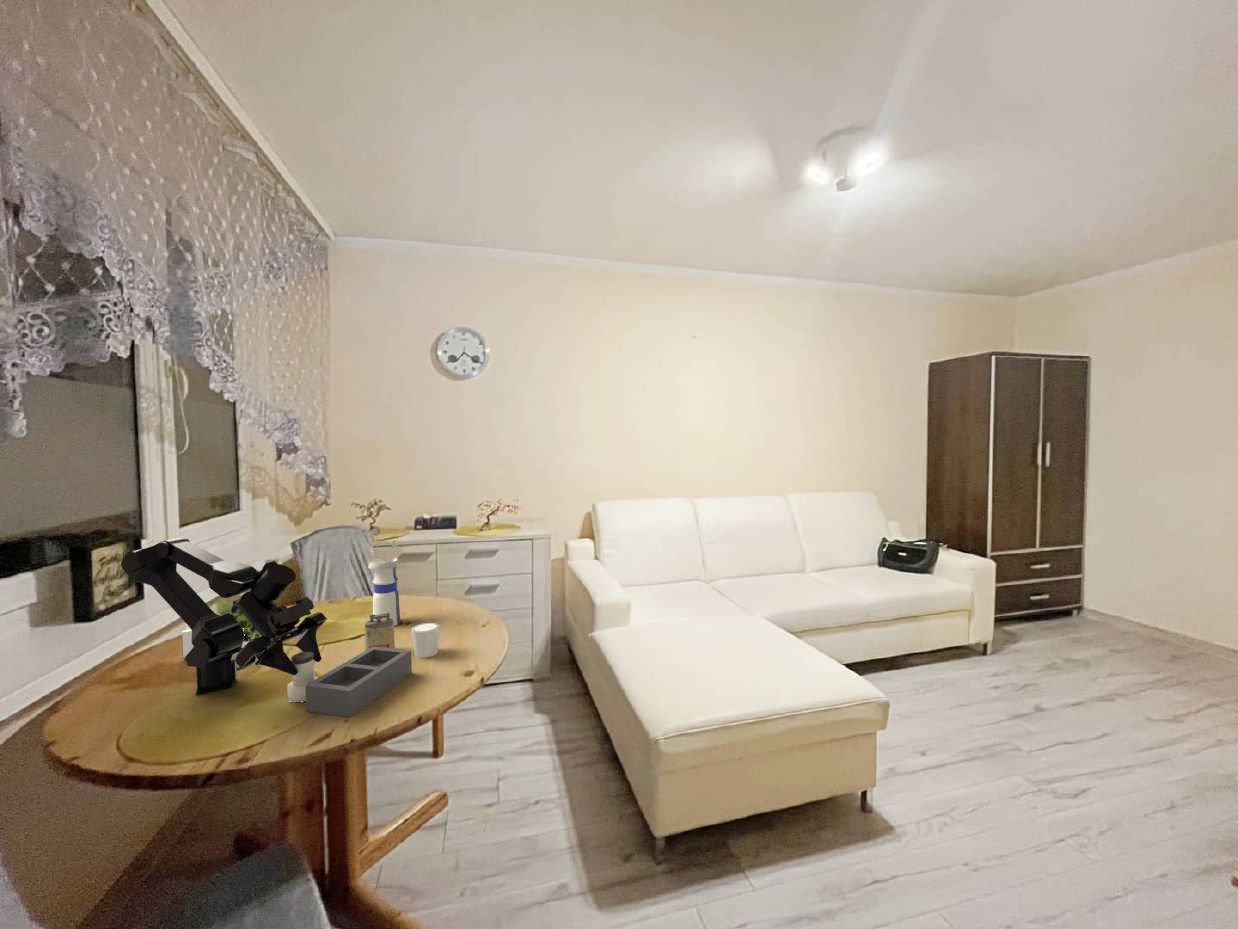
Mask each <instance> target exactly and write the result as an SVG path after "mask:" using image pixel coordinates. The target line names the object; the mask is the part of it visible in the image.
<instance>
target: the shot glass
mask: <svg viewBox="0 0 1238 929" xmlns="http://www.w3.org/2000/svg"><path fill="white" fill-rule="evenodd" d="M439 636H440V624H439V623H436V622H423V623H419V624H416V625H415V626H412V627H411V638H412V645H413V653H414V657H415V658H417V657H418V659H426V658H427V657H428V658H430V657H431V658H432V657H433V656H435V655H437V654H438V651H439V638H440V637H439Z"/></svg>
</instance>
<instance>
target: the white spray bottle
mask: <svg viewBox="0 0 1238 929" xmlns="http://www.w3.org/2000/svg"><path fill="white" fill-rule="evenodd" d="M389 544H390V545H391V550H394V549H395V550H398V546H399V542H396V540H395V539H393V541H392V542H389ZM398 560H399V559H398V558H396V557H394V559H393V560H392V561H391V562H386V561H385V559H384V558H381V557H380V558H376V559H373V560H371V561H370V562H369V565H368V567H367V569H370V570H373V572H374V578H373V580H372V583H373V590H374V591H373V594H372V615H379V614H385V613H387V612H390V618H391V619H393V622H394V627H395V626H397V625H399V624H400V623H401V611H400V595H399V591H398V580H399V577H398V576H397V573H396V569H398V568H399V567H400V566H399V561H398ZM382 619H387V618H382ZM373 620H376V619H373Z"/></svg>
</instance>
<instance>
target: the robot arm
mask: <svg viewBox="0 0 1238 929" xmlns="http://www.w3.org/2000/svg"><path fill="white" fill-rule="evenodd" d="M178 565H179V566H181V567H183V568H185V569H187V570H188V571H190V572H191V573H194V574H196V575H198V576H200V577H201V578H204V579H205V580H206V581H207V583H208V587H209V589H211V591H212V592H214V593H215V594H216V595H218V596H219V597H220V598H223V599H229V598H232V597H236V596H239V595H241V594H242V595H241V597H239V598H238V599H235V600H234V599H233V601H232V607H231V609H230V612H228V613H225V614H221V615H219V614H217V613H215V612H214V611H213V610H212V608H211V607H210V606H209V605H208V603H206V602H205V601H204V600H203V599H202V598H201V597H200V595H199V594H198V593H197V592H196V591H195V589H193V588H192V586H191V585H190V584H189V583H188V582H187V581H186V580H185V579H184V578H183V577H182V576H181V575H180V573H179V572H178V571H177V568H178ZM120 566H121V568H122V570H123V571H124V573H125V574H126V575H127V576H129V577H130V578H132V579H133V580H134V581H135V582H139V583H142V584H145V585H148V586H151V587H153V589H154V590H155V591H156V592H157V593H158V594H159V595H160V597H161V598H163V600H164V601H165V602H166V604H168V605H169V606H170V608H171V609H172V610H173V611H174V612H175V613H176V615H178V616H179V617H180V619H181V620H182V621H183V622H184V623H185V625H186V624H187V625H188V626H189V627H190V629H191V630H192V640H191V643H192V645H193V646H194V647H193V648H192V650H191V651H190V652H189V653H188V654H187V655H186V657H185V662H186V666H188V667H194V668H195V671H196V690H195V693H196V694H195V695H198V694H197V693H201V694H203V693H204V694H205V693H209V691H210V692H214V691H219V689H220V690H223V689H222V688H224V689H228V688H227V687H229V688H232V687H233V685H234V682H236V681H237V678H238V670H237V669H238V668H237V666H238V667H239V668H240V669H241V670H242V669H245V668H246V667H249V666H251V665H255V666H259V665H261V666H265V667H268V668H271V669H275V670H279V671H280V672H283V673H287V674H289V675H296V674H297V673H298V670H297V668H296V667H295V665H294V664H293V663H292V661H291V658H289V656H288V655H287V654H286V653H285V650H284V645H283V643H285V642H288V641H290V640H291V639H296V640H297V642H296V643H295V644H294V645H295V646H296V647H297V648H298V649H299V650H300V651H301V652H313V653H314V662H316V663H320V662H321V661H322V660H323V659H322V656H321V651H320V649H319V644H318V641H317V631H318V630H319V629H320V628H321V627H322V626H323V625H324V623H326V621H327V620H328V617H326V615H325V614H324V613H323V612H318V611H317V612H315V613H312V612H311V610H313V609H314V608H315V605H314V603H313V601H312V599H310V598H309V597H308V596H304V597H302V598H300V599H298V600H296V601H295V604H294V605H292V606H289V607H288V606H286V605H281V606H279V605H278V603H276V601H277V600H279V599H281V597H282V596H283V595H284V593H285V592H286V591H287V590H288V589H289V587H290V586H292V584H293V583H294V582H295V581H296V578H297V576H296V572H295V571H294V569H293V568H291V567H288V566H286V565H284V564H280V563H277V562H276V561H275V560H272V561H269V562H265V564H264V565H263V566H262V568H261V570H257V569H256V568H255V567H254V566H252V565H249V564H246V563H243V562H234V561H227V560H224V559H222V558H221V557H219V556H217V555H215V554H212V553H211V552H209V551H207V550H205V549H204V548H202V547H199V545H195V544H194V543H192V542H191V541H190V540H189V539H188V538H187V537H182V536H181V537H175V538H171V539H165V540H162V541H161V542H158V543H156V544H153V545H150V546H148V547H144V548H140V549H135V550H130V551H127V553H126V554H125V555H124V557H123V558H122V560H121V563H120ZM238 612H241V613H242V615H244V617H245V619H246V620H248V622H249V623H250V624H251V625H252V626H251V627H250V628H249V631H251V633H252V634H253V633H256V632H257V633H258V634H259V635H260V637H257V638H255V639H252V640H249V641H248V643H247V644H246V645H245V646H242V644H243V640H244V636H245V634H244V630H243V629H244V628H243V627H242V626H241V625H242V623H240V622H239V621H237V619H236V618H235V616H234V614H237V613H238ZM303 617H304V618H303ZM302 618H303V620H302V621H301V619H302ZM296 625H297V626H296ZM235 654H236V656H235V659H234V655H235ZM256 659H257V661H256Z"/></svg>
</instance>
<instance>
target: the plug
mask: <svg viewBox="0 0 1238 929" xmlns="http://www.w3.org/2000/svg"><path fill="white" fill-rule="evenodd" d="M290 660H291V661H292V663H293V664H294V665H295V667H296V668H297V670H298V673H297V674H296V675H292V674H291V675H292V681H290V682H289V683H288V684H287V686H286V688H287V691H286V692H287V700H288V699H289V700H290V701H292V702H301V701H305V700H306V685H307V684H309V683H311V682H312V681H314V680H316V679H317V678H319V676H317V675H315V665H314V664H315V661H314V653H313V652H303V651H301V652H299V653H295V654H294V655H292V656H291V658H290Z"/></svg>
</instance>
